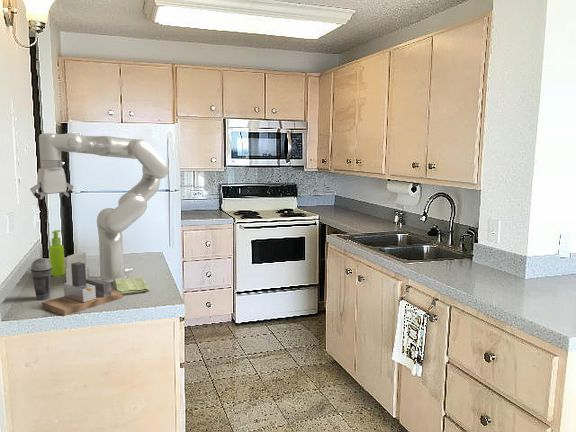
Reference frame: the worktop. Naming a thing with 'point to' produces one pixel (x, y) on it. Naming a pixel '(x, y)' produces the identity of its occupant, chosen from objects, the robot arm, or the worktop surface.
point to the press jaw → (79, 285)
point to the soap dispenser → (57, 256)
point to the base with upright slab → (73, 259)
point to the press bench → (72, 306)
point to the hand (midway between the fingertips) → (53, 207)
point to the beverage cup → (41, 278)
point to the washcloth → (130, 285)
